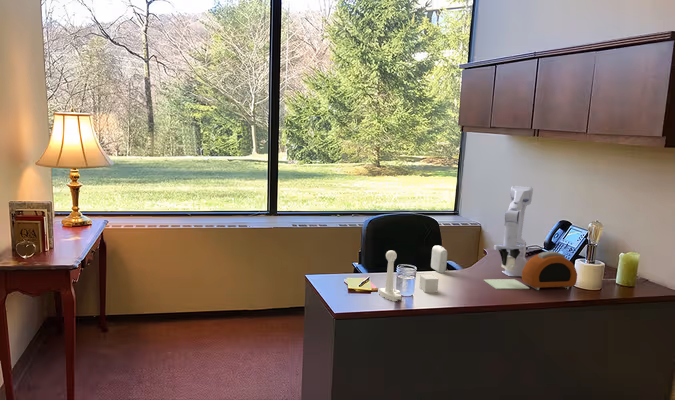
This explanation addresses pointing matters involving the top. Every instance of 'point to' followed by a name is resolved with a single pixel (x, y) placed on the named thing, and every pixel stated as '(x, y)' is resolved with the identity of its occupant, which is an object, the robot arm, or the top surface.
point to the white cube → (428, 283)
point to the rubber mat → (505, 284)
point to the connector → (510, 264)
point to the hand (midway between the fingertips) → (507, 265)
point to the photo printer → (439, 259)
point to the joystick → (390, 279)
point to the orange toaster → (549, 271)
